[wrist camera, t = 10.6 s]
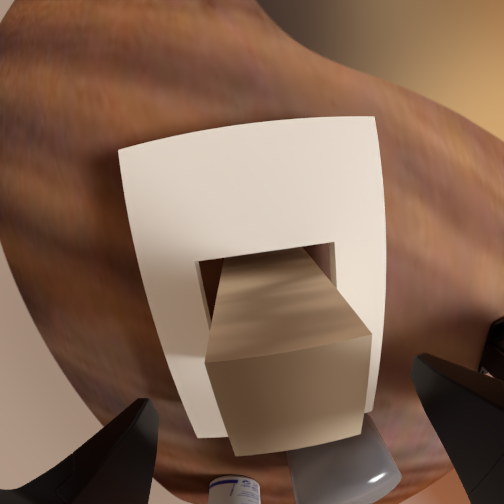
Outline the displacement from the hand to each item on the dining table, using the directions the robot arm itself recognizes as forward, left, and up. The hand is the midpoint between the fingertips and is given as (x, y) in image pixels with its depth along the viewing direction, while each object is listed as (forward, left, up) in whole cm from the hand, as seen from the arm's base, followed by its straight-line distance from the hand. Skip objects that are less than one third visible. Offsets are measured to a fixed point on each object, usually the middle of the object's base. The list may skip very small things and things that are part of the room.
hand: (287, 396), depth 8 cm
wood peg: (0, 0, -9) cm, 9 cm away
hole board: (0, 0, -9) cm, 9 cm away
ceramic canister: (-4, +16, -9) cm, 19 cm away
